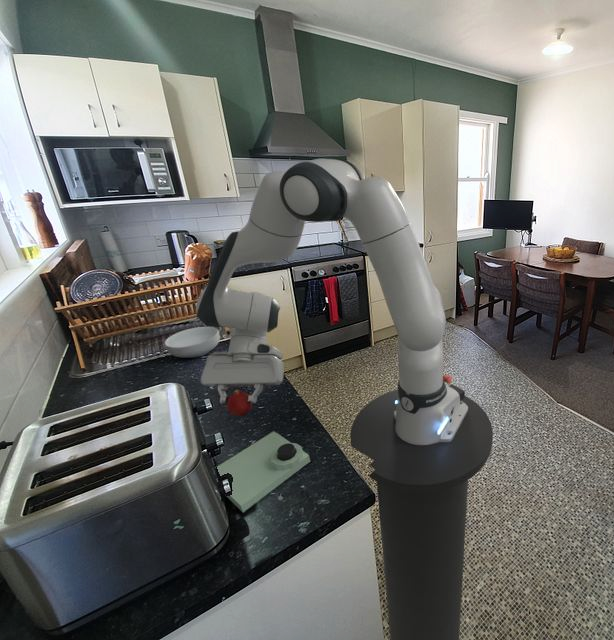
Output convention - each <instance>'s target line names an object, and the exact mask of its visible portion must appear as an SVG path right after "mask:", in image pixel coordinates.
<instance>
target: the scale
mask: <svg viewBox="0 0 614 640" xmlns="http://www.w3.org/2000/svg"><path fill="white" fill-rule="evenodd" d="M287 443H290V444H293V445H294V448H295V456H294V457H293V458H291V459H290V460H286V461H281V460H279V458H278V453H277V450H278V448H279V447H280V446H282V445H284V444H287ZM309 463H311V458H310V455H309V454H308V453H307V452H305V451H304V450H303V447H302V446H301V445H299V444H298V443H293V442H290V441H289V440H288V439H286V438H285V437H283V436H282V435H280V434H279V433H277V432H276V431H275V430H273V431H271V432H270V433H268V434H267V435H265V436H264V437H262V438H260V439H259V440H257V441H256V442H254V443H253V444H251V445H249V446H247V447H246V448H244V449H243V450H241V451H240V452H238V453H237V454H234V456H232V457H230V458H229V459H227V460H225V461H224V462H223V463H220V464H218V465H217V466H216V467H217V469H218V472H219V474H220V476H222V475H224V474H227V473H229V474H231V475H232V477H233V482H232V490H233V491H232V495H230V496H226V498H228V500H230V501H231V502H232V503H233V505H234V506H236V507H237V509H238V510H240V511H241V512H242V513H245V512H246V511H247V510H249V509H250V508H252V507H253V506H254V505H255V504H256V503H258V502H259V501H260V500H263V498H264V497H266V496H267V495H268V494H269V493H271V492H272V491H274V490H275V489H276V488H277V487H279V486H280V485H281V484H282V483H284V482H286V481H287V480H288V479H289V478H290V477H292V476H293V475H294V474H296V473H297V472H298V471H300V470H301V469H303V467H305V466H306V465H307V464H309Z"/></svg>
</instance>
